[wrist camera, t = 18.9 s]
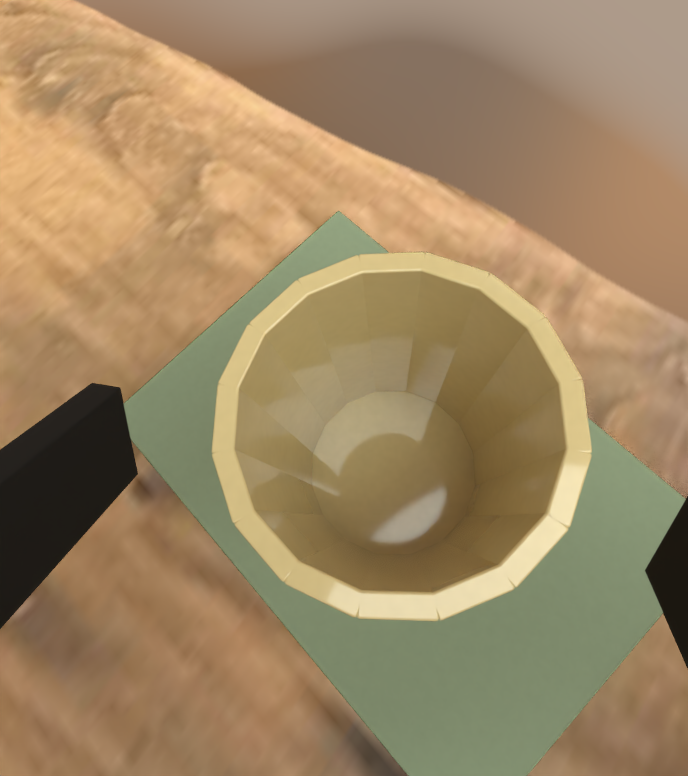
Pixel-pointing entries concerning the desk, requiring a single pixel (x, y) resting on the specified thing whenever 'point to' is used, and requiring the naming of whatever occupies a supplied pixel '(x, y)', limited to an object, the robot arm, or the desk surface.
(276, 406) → the pencil cup
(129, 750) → the desk surface
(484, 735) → the desk pad
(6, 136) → the desk surface
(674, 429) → the desk surface
